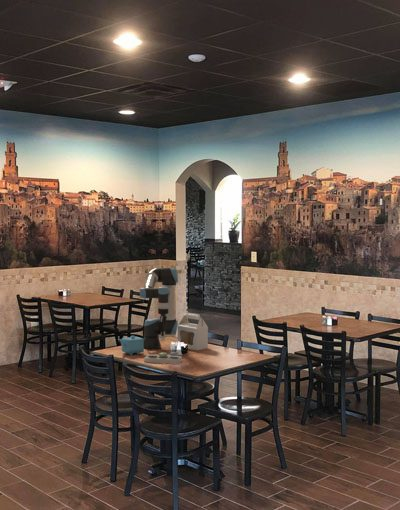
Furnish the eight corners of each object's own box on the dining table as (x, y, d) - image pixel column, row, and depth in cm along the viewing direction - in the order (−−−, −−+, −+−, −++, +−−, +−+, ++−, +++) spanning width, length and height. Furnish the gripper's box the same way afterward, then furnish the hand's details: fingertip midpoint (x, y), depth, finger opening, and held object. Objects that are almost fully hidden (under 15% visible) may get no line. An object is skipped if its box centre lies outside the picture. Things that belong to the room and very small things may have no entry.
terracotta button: (149, 352, 470) (149, 350, 470) (157, 353, 469) (157, 351, 469) (147, 354, 464) (147, 352, 464) (155, 354, 463) (155, 352, 463)
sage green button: (160, 354, 469) (160, 352, 469) (168, 354, 468) (168, 352, 468) (158, 356, 463) (158, 353, 463) (166, 356, 462) (166, 354, 462)
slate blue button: (170, 353, 467) (170, 351, 467) (178, 354, 466) (178, 352, 466) (168, 355, 461) (168, 353, 461) (177, 356, 460) (177, 353, 460)
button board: (148, 358, 473) (148, 354, 473) (181, 360, 469) (181, 356, 469) (144, 362, 462) (144, 357, 461) (178, 363, 457) (178, 359, 457)
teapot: (140, 351, 501) (140, 333, 500) (146, 353, 492) (147, 336, 491) (114, 354, 489) (114, 336, 488) (120, 356, 480) (121, 338, 479)
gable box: (177, 346, 523) (177, 312, 522) (188, 344, 533) (189, 311, 531) (196, 350, 508) (197, 315, 507) (208, 348, 517) (208, 313, 516)
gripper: (160, 306, 472) (159, 338, 473) (156, 309, 459) (155, 341, 461) (170, 307, 471) (169, 339, 472) (166, 309, 458) (166, 342, 459)
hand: (162, 340), depth 466 cm, fingers closed
